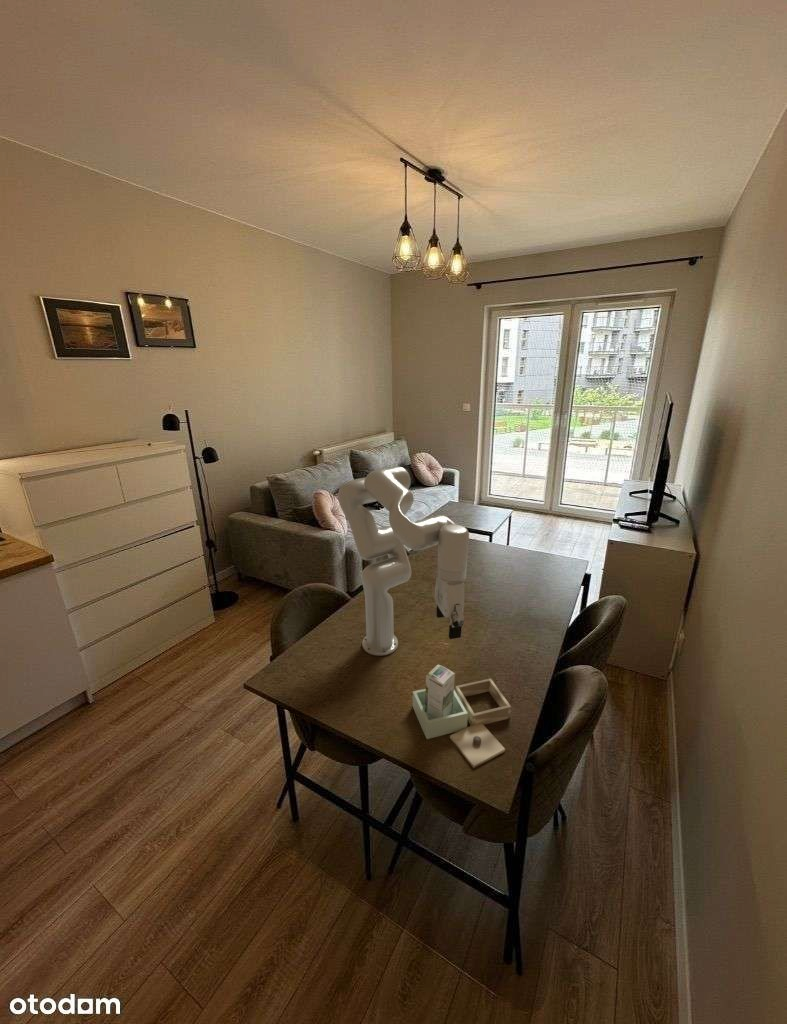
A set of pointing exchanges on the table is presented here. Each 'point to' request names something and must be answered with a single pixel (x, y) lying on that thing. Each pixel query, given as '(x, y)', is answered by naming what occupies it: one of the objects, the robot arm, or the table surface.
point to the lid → (477, 744)
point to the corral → (488, 715)
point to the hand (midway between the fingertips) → (448, 626)
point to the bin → (442, 724)
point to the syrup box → (439, 692)
